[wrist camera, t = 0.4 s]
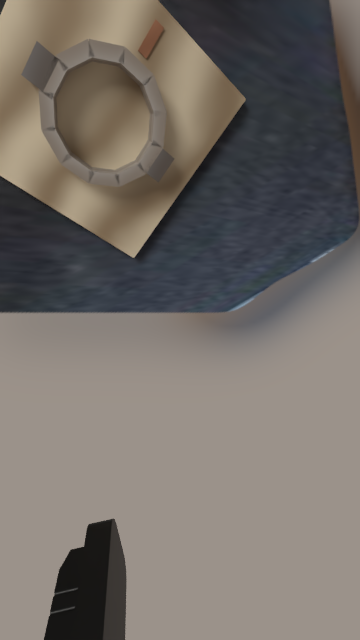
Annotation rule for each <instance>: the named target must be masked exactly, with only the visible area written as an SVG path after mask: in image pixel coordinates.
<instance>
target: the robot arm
mask: <svg viewBox="0 0 360 640" xmlns="http://www.w3.org/2000/svg"><path fill="white" fill-rule="evenodd" d="M54 593H55V596H54V597H53V601H52V605H51V610H50V616H49V619H48V624H47V628H46V633H45V637H44V640H125V617H126V616H125V615H126V566H125V558H124V554H123V549H122V546H121V541H120V537H119V534H118V529H117V525H116V522H115V519H110V520H106V521H101V522H97V523H92V524H89V525H88V528H87V533H86V538H85V545H84V547H81V548H77V549H72V550H70V552H69V554H68V556H67V558H66V559H65V561H64V563H63V564H62V566H61V568H60V570H59V574H58V578H57V583H56V587H55V592H54Z"/></svg>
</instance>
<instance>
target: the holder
mask: <svg viewBox="0 0 360 640" xmlns="http://www.w3.org/2000/svg"><path fill="white" fill-rule="evenodd" d="M245 100H246V99H245V97H244V96H243V95H242V94H241V93H240V92H239V91H238V90H237V88H236V87H235V86H234V85H233V84H232V83H231V82H230V81H229V80H228V78H227V77H226V76H225V75H224V74H223V73H222V72H221V71H220V69H219V68H218V67H217V66H216V65H215V64H214V63H213V62H212V60H211V59H210V58H209V57H208V56H207V55H206V54H205V53H204V51H203V50H202V49H201V48H200V47H199V46H198V45H197V44H196V42H195V41H194V40H193V39H192V38H191V37H190V36H189V35H188V33H187V32H186V31H185V30H184V29H183V28H182V27H181V26H180V24H179V23H178V22H177V21H176V20H175V19H174V18H173V17H172V15H171V14H170V13H169V12H168V11H167V10H166V9H165V8H164V6H163V5H162V4H161V3H160V2H159V1H158V0H7V1H6V3H5V5H4V8H3V10H2V13H1V15H0V176H2V177H3V178H5V179H6V180H8V181H10V182H11V183H13V184H15V185H16V186H18V187H19V188H21V189H23V190H24V191H26V192H28V193H29V194H31V195H32V196H34V197H36V198H37V199H39V200H40V201H42V202H44V203H45V204H47V205H49V206H50V207H52V208H53V209H55V210H57V211H58V212H60V213H62V214H63V215H65V216H66V217H68V218H70V219H71V220H73V221H74V222H76V223H78V224H79V225H81V226H83V227H84V228H86V229H87V230H89V231H91V232H92V233H94V234H96V235H97V236H99V237H100V238H102V239H104V240H105V241H107V242H108V243H110V244H112V245H113V246H115V247H117V248H118V249H120V250H121V251H123V252H125V253H126V254H128V255H130V256H131V257H133V258H134V257H135V256H136V255H137V253H138V252H139V250H140V249H141V247H142V246H143V245H144V243H145V242H146V240H147V239H148V238H149V236H150V235H151V233H152V232H153V230H154V229H155V228H156V226H157V225H158V223H159V222H160V221H161V219H162V218H163V216H164V215H165V213H166V212H167V211H168V209H169V208H170V206H171V205H172V204H173V202H174V201H175V199H176V198H177V196H178V195H179V194H180V192H181V191H182V189H183V188H184V187H185V185H186V184H187V182H188V181H189V179H190V178H191V177H192V175H193V174H194V172H195V171H196V170H197V168H198V167H199V165H200V164H201V162H202V161H203V160H204V158H205V157H206V155H207V154H208V153H209V151H210V150H211V148H212V147H213V146H214V144H215V143H216V141H217V140H218V138H219V137H220V136H221V134H222V133H223V131H224V130H225V129H226V127H227V126H228V124H229V123H230V121H231V120H232V119H233V117H234V116H235V114H236V113H237V112H238V110H239V109H240V107H241V106H242V104H243V103H244V102H245Z"/></svg>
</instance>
